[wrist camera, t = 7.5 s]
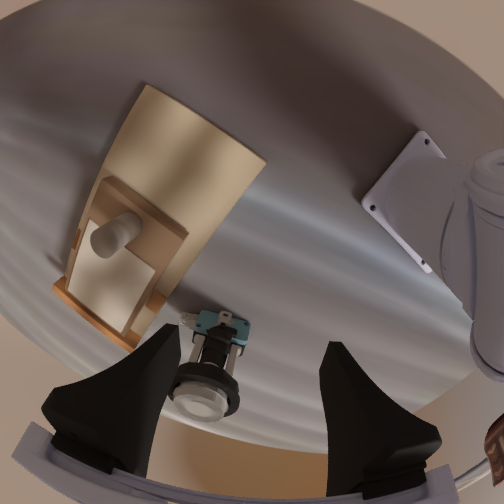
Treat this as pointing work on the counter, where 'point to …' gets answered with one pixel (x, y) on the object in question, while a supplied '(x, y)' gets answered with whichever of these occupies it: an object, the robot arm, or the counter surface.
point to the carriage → (121, 254)
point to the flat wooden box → (171, 188)
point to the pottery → (496, 450)
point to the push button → (210, 367)
